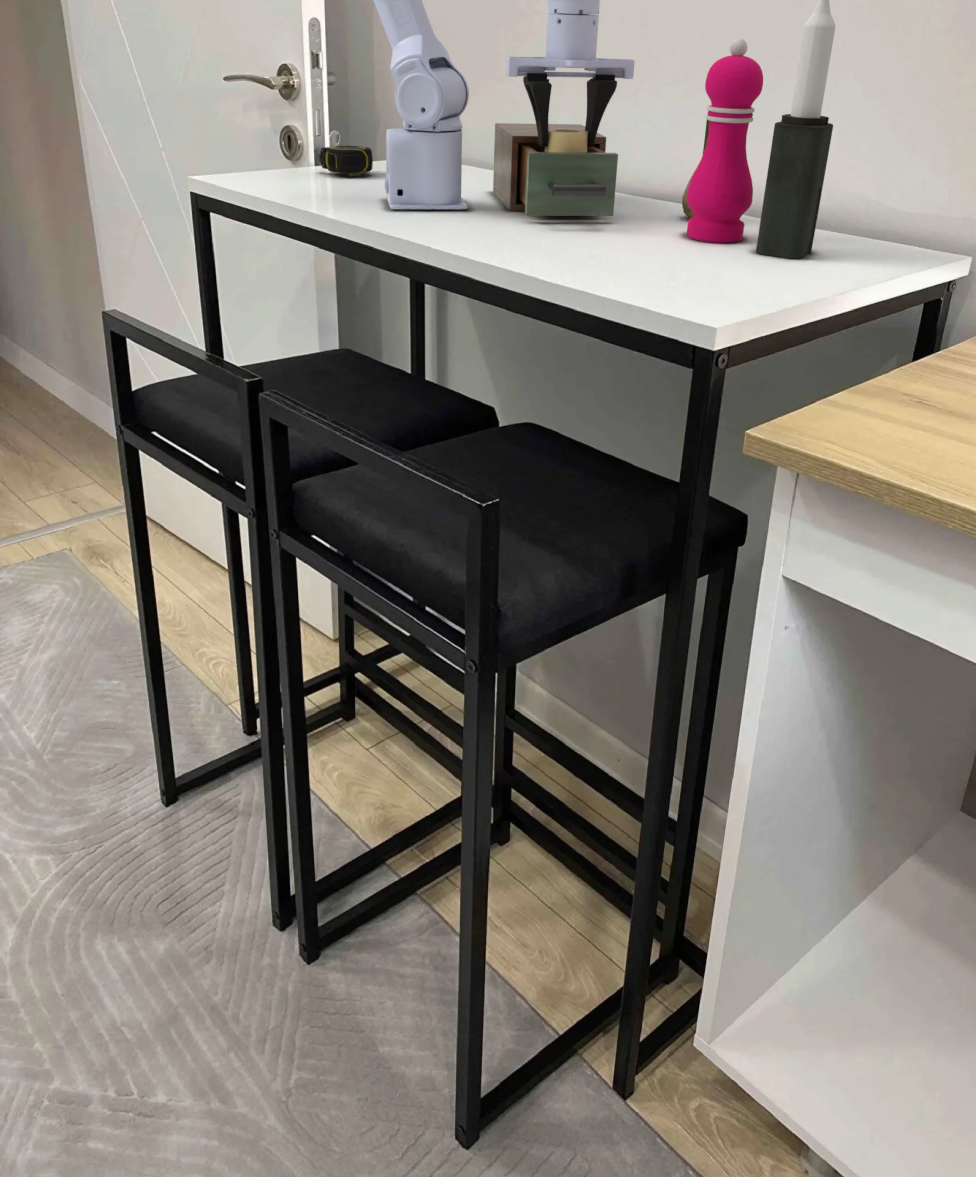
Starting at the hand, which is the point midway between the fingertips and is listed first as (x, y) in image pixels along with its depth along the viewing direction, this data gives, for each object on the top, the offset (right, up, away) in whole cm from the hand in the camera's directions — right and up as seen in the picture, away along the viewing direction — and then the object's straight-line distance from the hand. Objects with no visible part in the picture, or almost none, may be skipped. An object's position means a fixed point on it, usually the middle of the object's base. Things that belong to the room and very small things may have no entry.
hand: (565, 145), depth 124 cm
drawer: (0, -6, +3) cm, 7 cm away
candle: (+23, -16, -11) cm, 30 cm away
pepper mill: (+16, -13, -5) cm, 21 cm away
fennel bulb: (+17, -7, +5) cm, 19 cm away
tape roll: (0, -1, +1) cm, 1 cm away
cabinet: (-2, -2, +13) cm, 13 cm away
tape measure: (-30, +7, +28) cm, 42 cm away
